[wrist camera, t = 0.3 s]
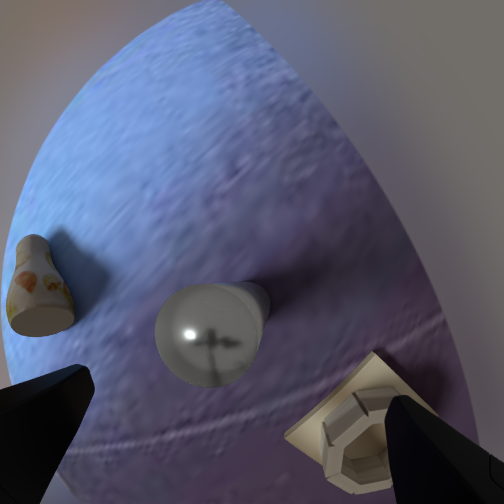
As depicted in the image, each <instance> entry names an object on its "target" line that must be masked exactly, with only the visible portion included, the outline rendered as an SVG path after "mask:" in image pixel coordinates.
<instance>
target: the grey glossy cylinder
mask: <svg viewBox="0 0 504 504" xmlns="http://www.w3.org/2000/svg"><path fill="white" fill-rule="evenodd" d="M270 307H271V303H270V298H269V295H268V293H267V292H266V290H265V289H264V288H263V287H262V286H260V285H259V284H257V283H254V282H249V281H245V282H231V283H216V284H201V285H193V286H188V287H186V288H183V289H181V290H179V291H177V292H176V293H174V294H173V295H172V296H171V297H170V298H169V299H167V301H166V302H165V303H164V304H163V306H162V308H161V309H160V311H159V314H158V316H157V320H156V325H155V340H156V345H157V349H158V351H159V354H160V356H161V358H162V360H163V361H164V363H165V364H166V366H167V367H168V368H169V369H170V370H171V371H172V372H173V373H174V374H175V375H176V376H177V377H179V378H180V379H182V380H184V381H185V382H187V383H190V384H192V385H195V386H199V387H206V388H214V387H221V386H225V385H228V384H230V383H232V382H234V381H236V380H238V379H239V378H240V377H241V376H243V375H244V374H245V373H246V372H247V371H248V369H249V368H250V366H251V365H252V363H253V361H254V359H255V356H256V353H257V350H258V347H259V344H260V341H261V338H262V334H263V331H264V328H265V325H266V322H267V318H268V315H269V312H270Z"/></svg>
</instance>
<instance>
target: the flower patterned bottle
mask: <svg viewBox="0 0 504 504" xmlns="http://www.w3.org/2000/svg"><path fill="white" fill-rule="evenodd" d="M6 312H7V317H8V321H9V324H10V326H11V328H12V329H13V330H14V331H15V332H16V333H18V334H20V335H23V336H28V337H42V336H49V335H53V334H56V333H59V332H61V331H63V330H66V329H67V328H69V327H70V326H71V325H72V324H73V322H74V321H75V307H74V301H73V298H72V295H71V293H70V291H69V289H68V287H67V285H66V283H65V282H64V280H63V279H62V277H61V276H60V274H59V272H58V271H57V269H56V268H55V266H54V264H53V262H52V259H51V254H50V246H49V243H48V241H47V240H46V239H45V238H43V237H41V236H39V235H36V234H31V235H28V236H25V237H24V238H23V239H22V240H21V241H19V243H18V244H17V247H16V267H15V271H14V274H13V277H12V280H11V283H10V286H9V290H8V294H7V300H6Z"/></svg>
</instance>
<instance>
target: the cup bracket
mask: <svg viewBox="0 0 504 504" xmlns="http://www.w3.org/2000/svg"><path fill="white" fill-rule="evenodd" d="M399 395H408V396H410V397H411V398H412V399H414V400H415V401H416V402H418V403H419V404H421V405H422V406H423V407H425V408H426V409H427V410H429V411H430V412H432V413H433V414H434V415H436V416H437V417H438V416H439V415H438V414H437V413H436V412H435V411H434V410H433V409H432V408H431V407H430V406H429V405H428V404H427V403H426V402H424V401H423V400H422V399H421V398H420V397H419V396H418V395H417V394H416V393H415V392H414V391H413V390H412V389H411V388H410V387H409V386H408V385H407V384H406V383H405V382H404V381H403V380H402V379H401V378H400V377H399V376H398V375H397V374H396V373H395V372H394V371H393V370H392V369H391V368H390V367H389V366H388V365H386V364H385V363H384V362H383V361H382V360H381V359H380V358H379V357H378V356H377V355H376V354H375V353H374V352H371V353H370V354H369V355H368V356H367V357H366V358H365V359H364V360H363V361H362V362H361V363H360V364H359V365H358V366H357V367H356V369H355V370H354V371H353V372H352V373H351V374H350V375H349V376H348V377H347V378H346V379H345V380H344V381H343V382H342V383H340V384H339V385H338V386H337V387H336V388H335V389H334V390H333V391H332V392H331V393H330V394H329V395H328V396H327V397H326V398H325V399H324V400H322V401H321V402H320V403H319V404H318V405H317V406H316V407H315V408H313V409H312V410H311V411H310V412H309V413H308V414H307V415H305V416H304V417H303V418H302V419H301V420H300V421H298V422H297V423H296V424H295V425H294V426H292V427H291V428H290V429H289V430H287V431H286V432H285V433H284V437H285V439H286V440H287V441H289V442H290V443H291V444H293V445H294V446H295V447H297V448H298V449H299V450H301V451H302V452H304V453H305V454H307V455H308V456H309V457H311V458H312V459H314V460H315V461H317V462H318V463H320V464H321V465H323V468H324V473H325V477H326V479H327V480H328V481H329V482H331V483H333V484H334V485H336V486H338V487H339V488H341V489H343V490H345V491H346V492H348V493H350V494H352V493H355V495H356V494H362V493H367V492H372V491H377V490H382V489H386V488H391V484H393V482H392V477H391V473H390V468H389V461H388V451H387V442H386V433H385V425H384V418H385V415H386V412H387V410H388V407H389V405H390V402H391V400H392V398H393V397H394V396H399Z"/></svg>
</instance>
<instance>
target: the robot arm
mask: <svg viewBox="0 0 504 504" xmlns="http://www.w3.org/2000/svg"><path fill="white" fill-rule="evenodd" d="M94 392H95V386H94V383H93V380H92V377H91V374H90V371H89V369H88V368H87V367H86V366H83V365H80V364H74V365H71V366H68V367H66V368H63V369H60V370H57V371H54V372H51V373H49V374H46V375H43V376H40V377H37V378H34V379H31V380H28V381H25V382H22V383H19V384H16V385H13V386H10V387H7V388H4V389H1V390H0V504H40V502H41V500H42V498H43V496H44V494H45V492H46V490H47V488H48V486H49V483H50V481H51V479H52V477H53V476H54V474H55V472H56V470H57V468H58V466H59V464H60V462H61V460H62V458H63V457H64V455H65V453H66V451H67V449H68V447H69V445H70V444H71V442H72V440H73V438H74V436H75V435H76V433H77V431H78V429H79V427H80V425H81V422H82V420H83V418H84V415H85V413H86V411H87V408H88V406H89V404H90V402H91V399H92V397H93V395H94ZM384 425H385V433H386V442H387V451H388V461H389V468H390V473H391V477H392V482H393V487H394V492H395V497H396V502H397V504H504V463H503V462H502V461H500V460H499V459H497V458H496V457H494V456H493V455H492V454H490V455H489V453H488V452H487V451H486V450H484V449H483V448H481V447H480V446H478V445H477V444H475V443H474V442H473V441H471V440H470V439H468V438H467V437H465V436H464V435H463V434H461V433H460V432H458V431H457V430H455V429H454V428H453V427H451V426H450V425H448V424H447V423H446V422H444V421H443V420H441V419H440V418H439V417H437V416H436V415H434V414H433V413H432V412H430V411H429V410H427V409H426V408H425V407H423V406H422V405H421V404H419V403H418V402H416V401H415V400H414V399H412V398H411V397H410V396H408V395H399V396H394V397H393V398H392V400H391V402H390V405H389V407H388V410H387V412H386V415H385V418H384Z"/></svg>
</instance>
